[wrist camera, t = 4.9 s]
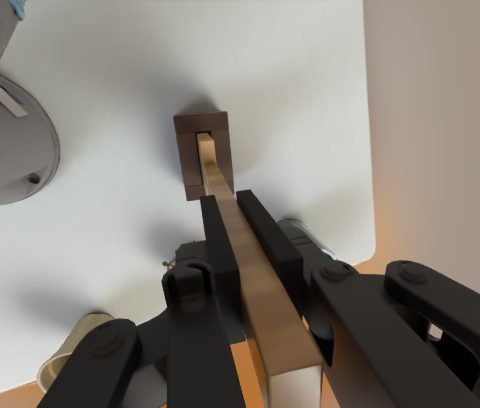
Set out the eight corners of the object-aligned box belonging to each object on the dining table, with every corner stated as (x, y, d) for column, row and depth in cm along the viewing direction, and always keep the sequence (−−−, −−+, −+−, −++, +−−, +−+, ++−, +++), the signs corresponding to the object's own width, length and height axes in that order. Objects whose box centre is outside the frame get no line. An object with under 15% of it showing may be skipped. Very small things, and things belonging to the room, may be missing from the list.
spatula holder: (227, 182, 37) (234, 194, 32) (186, 187, 36) (186, 201, 31) (220, 110, 34) (227, 111, 28) (175, 114, 33) (172, 115, 27)
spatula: (213, 181, 30) (318, 461, 6) (203, 182, 30) (272, 476, 6) (207, 132, 28) (332, 276, 4) (196, 133, 28) (262, 290, 4)
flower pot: (114, 353, 44) (99, 406, 36) (57, 340, 41) (26, 396, 33) (137, 313, 42) (126, 361, 34) (78, 297, 39) (51, 344, 31)
